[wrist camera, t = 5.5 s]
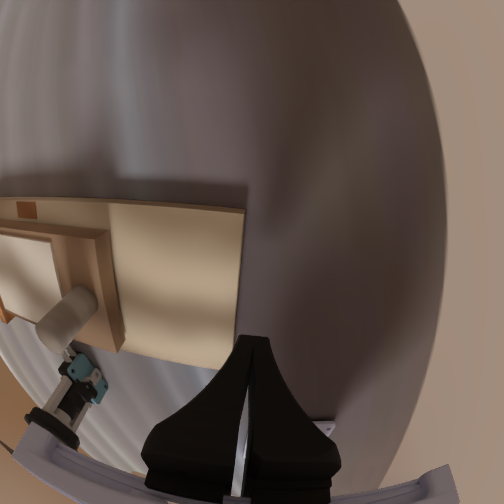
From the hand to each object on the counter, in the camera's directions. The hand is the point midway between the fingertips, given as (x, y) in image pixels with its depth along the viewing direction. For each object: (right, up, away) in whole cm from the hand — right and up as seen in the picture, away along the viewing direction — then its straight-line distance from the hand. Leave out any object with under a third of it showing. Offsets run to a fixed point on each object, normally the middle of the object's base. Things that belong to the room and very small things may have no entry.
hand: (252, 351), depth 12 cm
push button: (-16, -6, +9) cm, 19 cm away
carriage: (-15, +3, +3) cm, 16 cm away
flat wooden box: (-12, +3, +4) cm, 13 cm away
